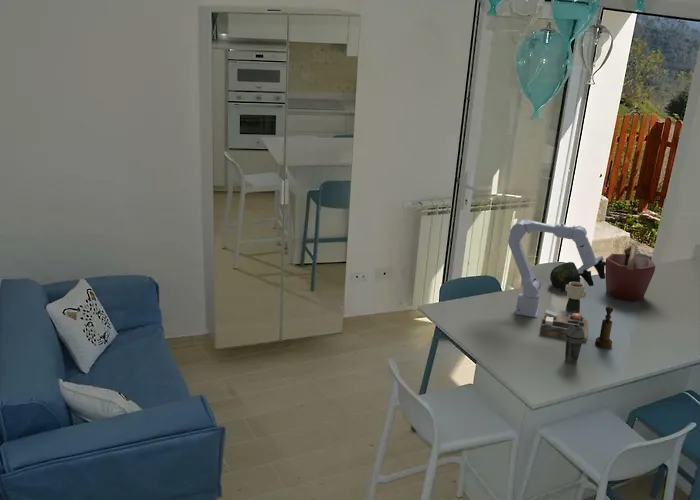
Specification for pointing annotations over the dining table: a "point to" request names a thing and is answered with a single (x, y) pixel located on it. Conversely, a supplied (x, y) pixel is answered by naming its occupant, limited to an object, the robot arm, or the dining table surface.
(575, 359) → the beverage cup
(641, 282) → the bucket
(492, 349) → the dining table surface
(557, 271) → the squash
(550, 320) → the slider knob
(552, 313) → the grey flat tile
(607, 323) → the brown chess piece
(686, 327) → the dining table surface
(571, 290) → the character mug
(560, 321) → the panel
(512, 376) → the dining table surface
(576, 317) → the push button
